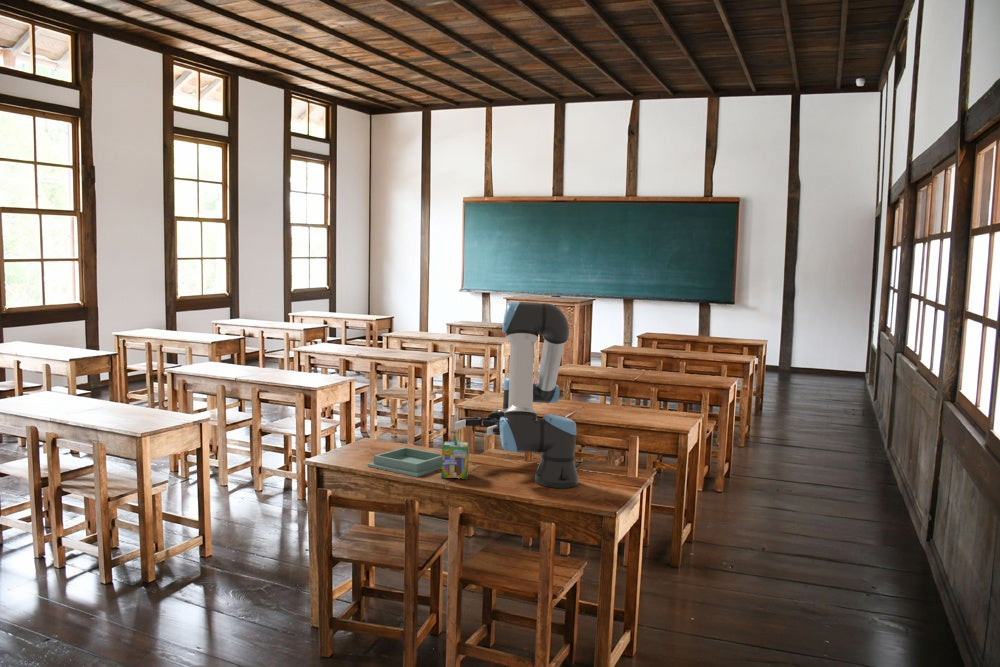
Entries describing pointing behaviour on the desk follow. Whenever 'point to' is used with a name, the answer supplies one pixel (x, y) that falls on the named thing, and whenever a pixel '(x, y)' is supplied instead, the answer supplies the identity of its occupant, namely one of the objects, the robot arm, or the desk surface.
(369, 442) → the desk surface
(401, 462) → the chalk holder
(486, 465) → the desk surface
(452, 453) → the chalk box
